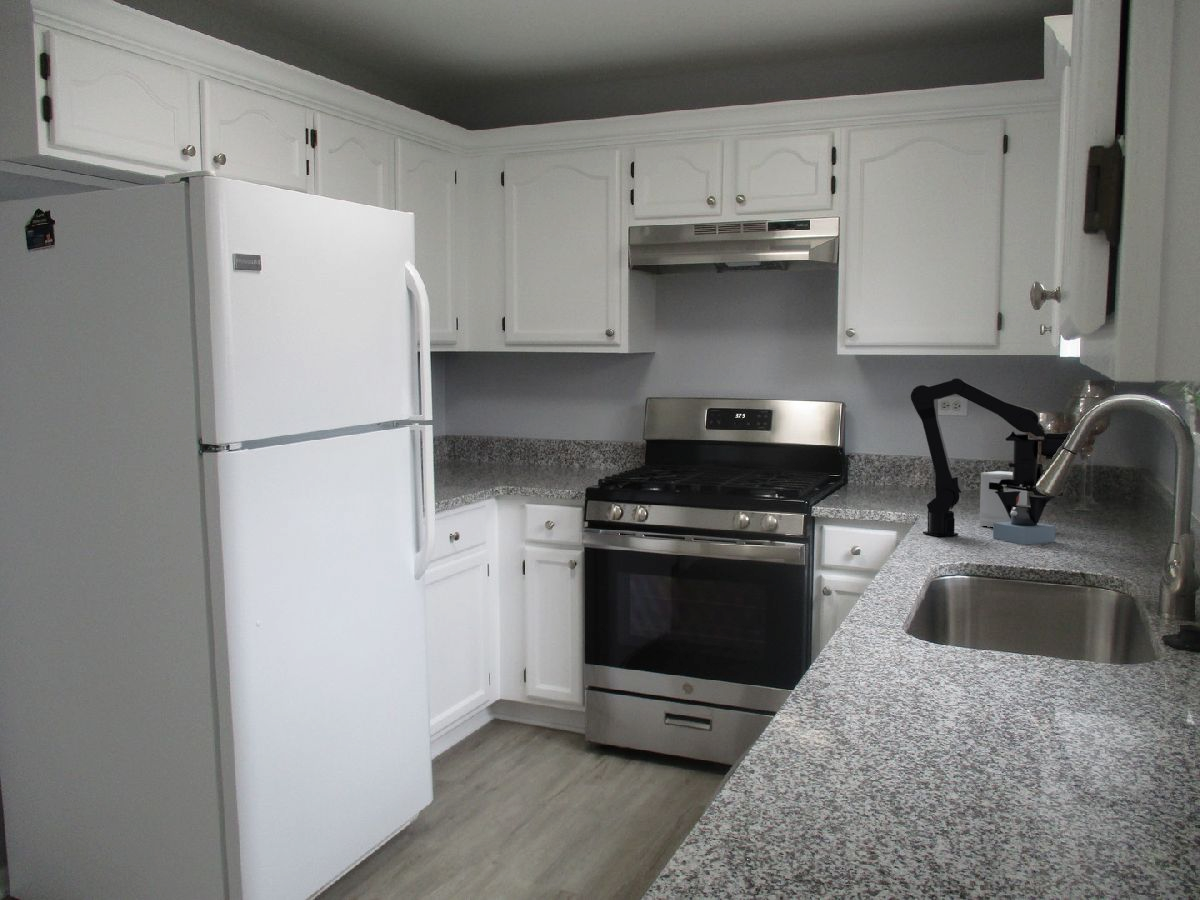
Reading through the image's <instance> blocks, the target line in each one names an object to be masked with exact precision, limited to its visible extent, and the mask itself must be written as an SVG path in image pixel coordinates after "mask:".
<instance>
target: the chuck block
mask: <svg viewBox="0 0 1200 900" xmlns="http://www.w3.org/2000/svg"><path fill="white" fill-rule="evenodd" d="M992 529H993V532H992V538H994V540H998V539H999V541H1003V540H1004V542H1009V543H1012V544H1013V543H1014V544H1018V545H1025V546H1026V545H1034V544H1035V545H1037V544H1047V543H1055V542H1056V525H1052V524H1046V523H1041V522H1040V523H1039V522H1038V523H1037V526H1017V525H1012V524H1011V522H999V523H994V524H993V528H992Z"/></svg>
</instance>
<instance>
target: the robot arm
mask: <svg viewBox="0 0 1200 900" xmlns="http://www.w3.org/2000/svg"><path fill="white" fill-rule="evenodd" d="M954 395H958V396H959V397H961V398H964V399H966V400H967V401H969V402H971V403H974V404H975V405H978V406H979V407H982V408H983V409H985V410H988V411H989V412H992V413H994V414H996V415H997V416H999V417H1000V418H1001V419H1003V420H1004V421H1005V422H1006V423H1008V424H1009V425H1011V426H1012V427H1013V428H1015V429H1016V430H1018V431H1019V432H1020V434H1019V433H1016V432H1015V431H1013V430H1012V431H1011V432H1010V434H1009V435H1008V436H1007V437H1005V441H1006V442H1013V446H1012V447H1013V451H1012V452H1013V454H1012V455H1013V456H1012V462H1009V463H1008V465H1009V466H1008V467H1009V468H1012V472H1013V479H1012V478H992V479H991V480H990V481H989V489H992V490H997V491H995V493H996V494H998V496H999V498H1000V499H1001V501H1002V503H1003V505H1004V507H1005V509H1006V511H1007V513H1008V515H1009V517H1010V519H1011V515H1010V512H1011V506H1013V505H1016V499H1017V496H1018V495H1019V493H1020V491H1015V489H1017V490H1024V491H1027V492H1032V493H1033V494H1034V495H1029V496H1028V498H1029V499H1028V500H1029V505H1030V506H1031V513H1032V519H1033V523H1039V522H1040V519H1041V517H1042V514H1043V512H1044V510H1045V508H1046V505H1047V504H1048V502H1050V501H1051V500H1053V499H1055V498H1056V497H1061V496H1064V491H1063V492H1062V493H1061V494H1060V495H1058V496H1046V495H1043V494H1041V493H1039V492H1038V491H1037V490H1036V487H1035V486H1036V483H1037V481H1038V479H1039V478H1040V476H1041V475H1042V474H1043V472H1044V471H1045V470H1044V467H1043V463H1040V462H1039V442H1041V447H1040V448H1041V449H1040V451H1041V452H1040V456H1043V457H1045V460H1047V461H1052V460H1051V459H1052V457H1053V455H1054V454H1055V453H1056V451H1057V449H1058V448H1059V447H1060V446H1061V445H1062V443H1063V442H1064V440H1065V439H1066V437H1067V435H1068V434H1069V433H1070V432H1062V433H1061V432H1059V433H1058V432H1047V430H1046V428H1044V427H1043V425H1042V424H1041V423H1040V415H1039V413H1038V412H1037V411H1036V410H1034V409H1032V408H1028V407H1025V406H1021V405H1018V404H1014V403H1011V402H1008V401H1005V400H1004V399H1003V400H1002V398H999V397H997V396H995V395H993V394H991V393H989V392H988V391H985V390H983V389H981V388H979V387H977V386H974V385H972V384H970V383H968V382H967V381H965V380H964V379H962V378H960V377H959V378H958V377H957V378H952V379H951V380H949V381H945V382H941V383H938V384H935V385H928V384H921V385H917V386H916V387H914V388H913V389H912V391H911V392H910V400H911V402H912V406H913V407H914V410H915V412H916V413H917V415H918V417H919V418H920V420H921V422H922V426H923V430H924V434H925V439H926V441H927V445H928V446H927V447H928V450H929V454H930V457H931V461H932V465H933V470H934V473H935V474H934V475H935V478H934V479H935V480H934V490H935V497H934V498H933V499H931V500H930V501H929V502H928V503H927V504H926V509H928V510H927V530H925V531H924V530H923V531H922V534H924V535H928V534H929V536H930V535H931V536H933V535H934V537H938V536H943V537H952V536H953V535H955V536H959V532H955V523H956V522H955V520H956V519H955V512H954V511H953V509H954V507H955V506H956V505H957V504H958V503H959V502H960V501H961V500H962V498H963V491H965V488H964V487H963V484H962V476H961V474H959V475H955V474H954V471H953V470H952V468H951V467H952V466H951V463H950V459H949V456H948V452H947V451H948V450H947V447H946V443H945V439H944V436H943V432H942V428H941V424H940V421H939V400H941V399H944V398H947V397H951V396H954ZM1021 432H1022V433H1026V434H1022V433H1021ZM1028 433H1030V434H1032V435H1033V436H1035V437H1038V438H1031V437H1030V434H1028ZM1020 485H1022V486H1020Z"/></svg>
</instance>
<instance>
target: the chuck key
mask: <svg viewBox="0 0 1200 900" xmlns="http://www.w3.org/2000/svg"><path fill="white" fill-rule="evenodd" d="M1010 515H1011V524H1012V525H1017V526H1037V523H1033V519H1032V513H1031V506H1030V504H1029V505H1028V504H1027V505H1013V506H1011V512H1010Z"/></svg>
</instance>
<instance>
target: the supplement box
mask: <svg viewBox="0 0 1200 900" xmlns="http://www.w3.org/2000/svg"><path fill="white" fill-rule="evenodd" d="M992 478H1012V479H1013V471H1006V470H1005V471H1003V470H997V471H995V470H994V471H984V472H981V474H980V497H979V498H980V500H979V526H980V525H981V526H980V527H983V526H987V527H986V528H990V527H993V524H994V523H999V522H1011V519H1010V517H1009V515H1008V513H1007V511H1006V509H1005V507H1004V505H1003V503H1002V501H1001V499H1000V498H999V496H998V494H996V493H995V491H997V490H992V489H989V481H990V480H991V479H992ZM1020 486H1022V485H1020ZM1015 491H1020V493H1019V495H1018V496H1017V499H1016V505H1028V491H1024V490H1017V489H1015Z"/></svg>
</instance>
